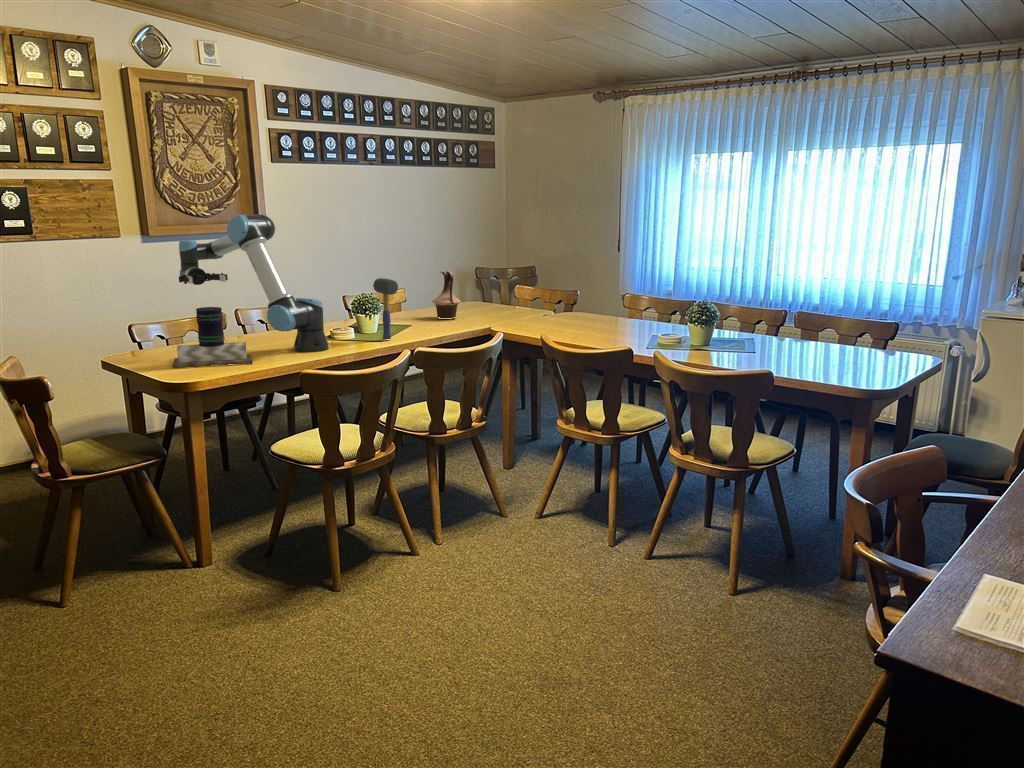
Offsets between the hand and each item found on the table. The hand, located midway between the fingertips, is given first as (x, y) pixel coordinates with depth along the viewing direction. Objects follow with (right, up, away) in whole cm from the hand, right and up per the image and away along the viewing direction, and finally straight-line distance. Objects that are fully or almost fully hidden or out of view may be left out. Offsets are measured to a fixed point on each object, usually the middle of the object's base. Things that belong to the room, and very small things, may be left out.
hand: (208, 279), depth 313 cm
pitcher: (+92, -7, +112) cm, 145 cm away
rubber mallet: (+70, -24, +42) cm, 85 cm away
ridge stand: (+7, -36, -13) cm, 39 cm away
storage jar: (+7, -29, -14) cm, 33 cm away
